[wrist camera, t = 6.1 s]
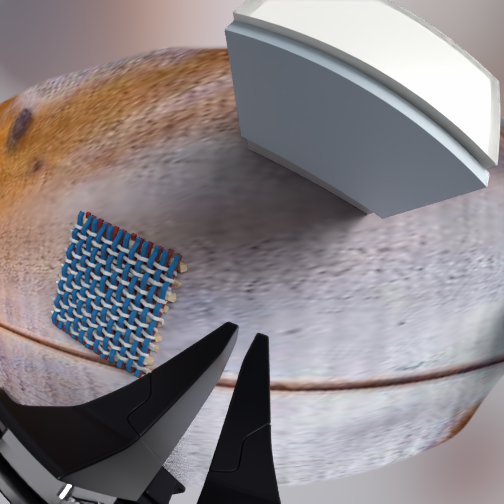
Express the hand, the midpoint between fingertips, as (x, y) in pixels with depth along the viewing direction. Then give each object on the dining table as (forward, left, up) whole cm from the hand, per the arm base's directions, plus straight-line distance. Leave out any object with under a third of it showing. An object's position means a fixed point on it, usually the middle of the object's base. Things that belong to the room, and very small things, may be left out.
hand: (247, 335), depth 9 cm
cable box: (+10, +6, -10) cm, 15 cm away
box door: (+7, +5, -6) cm, 11 cm away
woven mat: (-10, +5, -11) cm, 15 cm away
